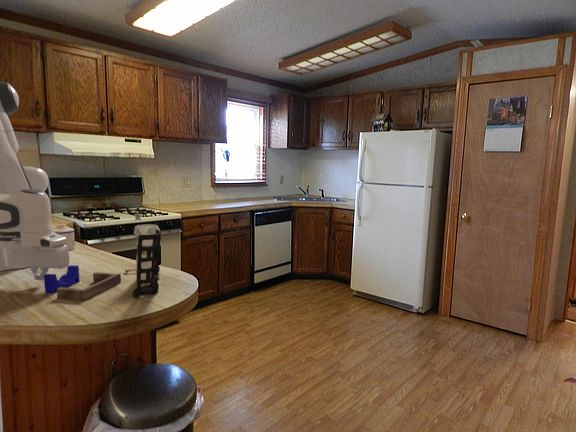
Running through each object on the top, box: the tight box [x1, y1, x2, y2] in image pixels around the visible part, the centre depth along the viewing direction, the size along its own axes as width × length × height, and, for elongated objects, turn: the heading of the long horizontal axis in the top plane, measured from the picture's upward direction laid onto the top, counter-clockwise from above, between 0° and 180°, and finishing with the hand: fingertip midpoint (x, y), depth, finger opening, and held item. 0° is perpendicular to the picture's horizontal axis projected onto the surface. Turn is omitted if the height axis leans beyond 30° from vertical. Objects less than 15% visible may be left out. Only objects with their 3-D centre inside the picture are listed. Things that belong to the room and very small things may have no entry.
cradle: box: [56, 271, 122, 302], centre depth 125 cm, size 10×18×3 cm, turn 170°
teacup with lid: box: [52, 223, 76, 251], centre depth 180 cm, size 12×9×12 cm
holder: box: [132, 229, 162, 299], centre depth 122 cm, size 11×8×20 cm
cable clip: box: [43, 264, 80, 294], centre depth 127 cm, size 12×4×6 cm, turn 172°
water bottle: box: [133, 211, 161, 282], centre depth 135 cm, size 8×9×25 cm
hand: (40, 279), depth 128 cm, fingers closed
